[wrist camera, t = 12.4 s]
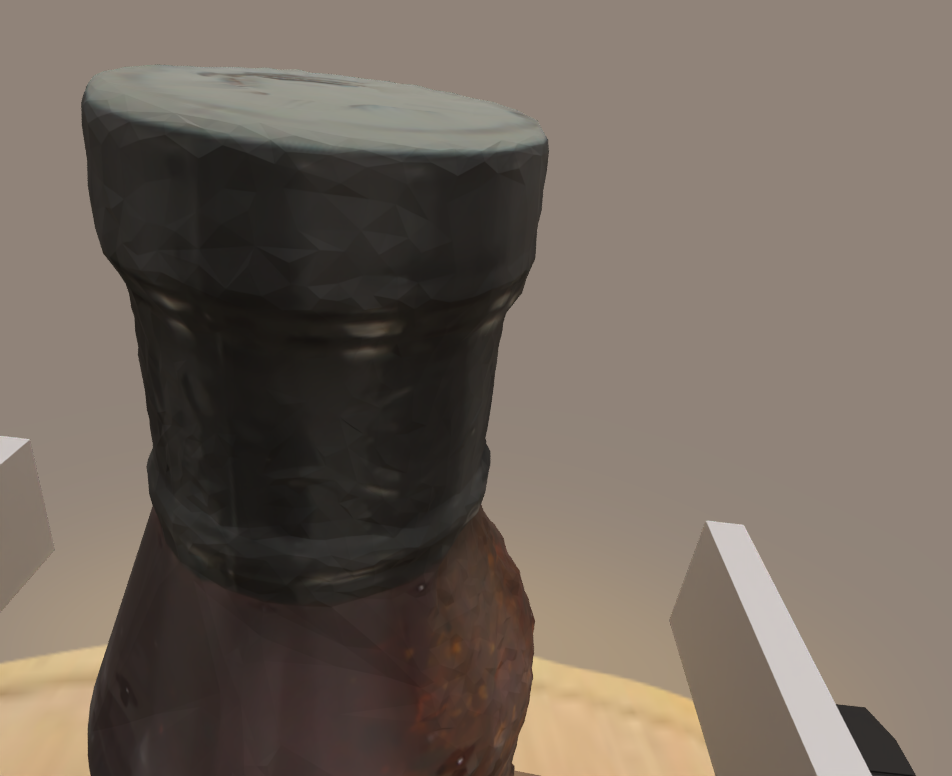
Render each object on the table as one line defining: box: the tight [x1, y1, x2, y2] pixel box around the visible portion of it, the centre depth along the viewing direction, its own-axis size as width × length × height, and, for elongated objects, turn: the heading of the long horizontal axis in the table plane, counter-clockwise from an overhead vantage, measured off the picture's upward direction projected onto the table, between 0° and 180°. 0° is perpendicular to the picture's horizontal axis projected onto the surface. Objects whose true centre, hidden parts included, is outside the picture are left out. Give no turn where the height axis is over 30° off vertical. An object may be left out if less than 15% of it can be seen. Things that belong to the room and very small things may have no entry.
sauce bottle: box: [81, 65, 549, 776], centre depth 11 cm, size 7×6×20 cm
